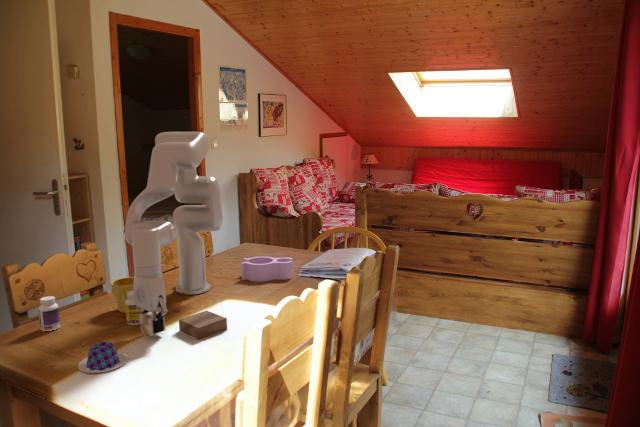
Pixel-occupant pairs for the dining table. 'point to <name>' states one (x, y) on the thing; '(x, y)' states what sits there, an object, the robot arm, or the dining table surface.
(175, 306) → the dining table surface
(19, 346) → the dining table surface
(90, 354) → the purple patterned hat
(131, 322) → the supplement bottle
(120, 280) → the plant pot
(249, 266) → the lavender double-well tray
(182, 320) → the walnut block
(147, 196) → the robot arm
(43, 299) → the pill bottle
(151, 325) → the maple block
